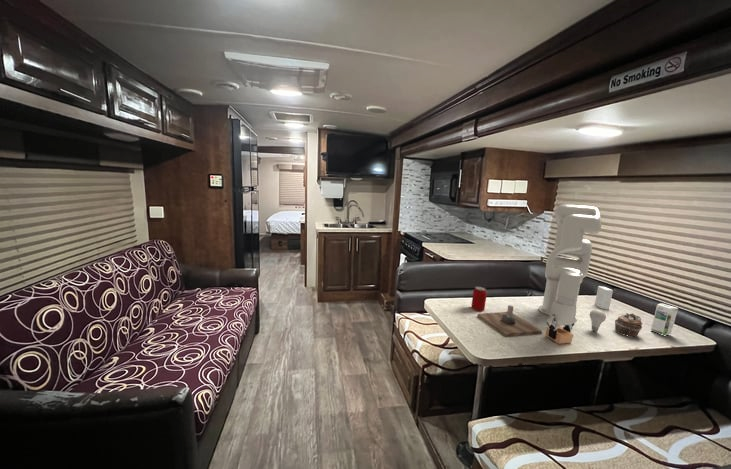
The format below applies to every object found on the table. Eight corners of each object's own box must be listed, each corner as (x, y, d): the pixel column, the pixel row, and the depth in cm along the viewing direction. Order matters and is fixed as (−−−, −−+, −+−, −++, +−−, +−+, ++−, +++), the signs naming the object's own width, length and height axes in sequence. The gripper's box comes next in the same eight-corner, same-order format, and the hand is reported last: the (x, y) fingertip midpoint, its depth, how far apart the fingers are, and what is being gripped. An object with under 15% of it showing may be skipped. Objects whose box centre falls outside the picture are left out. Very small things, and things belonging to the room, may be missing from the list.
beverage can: (482, 307, 158) (485, 286, 156) (486, 312, 151) (489, 291, 149) (469, 306, 158) (472, 285, 156) (473, 311, 152) (475, 289, 150)
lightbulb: (598, 335, 134) (603, 313, 132) (583, 329, 139) (588, 308, 137) (604, 333, 137) (609, 311, 135) (590, 327, 142) (594, 306, 140)
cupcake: (623, 327, 143) (627, 309, 142) (644, 338, 134) (649, 318, 132) (607, 328, 142) (612, 309, 140) (628, 338, 132) (633, 318, 131)
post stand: (509, 314, 151) (512, 297, 149) (541, 333, 132) (545, 314, 130) (477, 316, 146) (479, 299, 144) (505, 336, 127) (508, 317, 125)
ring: (557, 334, 131) (558, 326, 131) (571, 342, 125) (573, 334, 124) (545, 335, 130) (546, 327, 129) (559, 343, 123) (560, 335, 122)
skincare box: (609, 309, 166) (613, 290, 164) (602, 309, 166) (606, 289, 164) (600, 305, 172) (605, 286, 170) (593, 304, 172) (597, 286, 170)
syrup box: (649, 331, 142) (656, 304, 139) (656, 329, 144) (663, 302, 141) (664, 337, 136) (672, 308, 134) (671, 335, 139) (678, 307, 136)
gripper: (573, 295, 130) (565, 331, 133) (542, 297, 125) (536, 334, 128) (589, 302, 122) (581, 339, 126) (558, 304, 118) (550, 343, 121)
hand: (558, 336), depth 127 cm, fingers closed on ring, 7 cm apart
